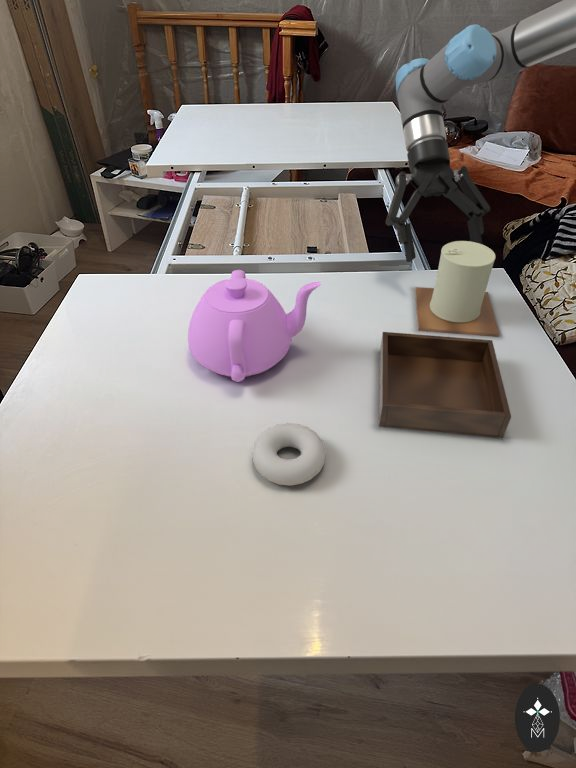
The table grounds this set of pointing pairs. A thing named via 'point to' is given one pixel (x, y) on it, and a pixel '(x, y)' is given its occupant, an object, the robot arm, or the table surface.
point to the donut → (283, 468)
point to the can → (461, 281)
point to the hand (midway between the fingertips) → (445, 256)
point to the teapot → (244, 326)
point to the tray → (441, 385)
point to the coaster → (432, 323)
